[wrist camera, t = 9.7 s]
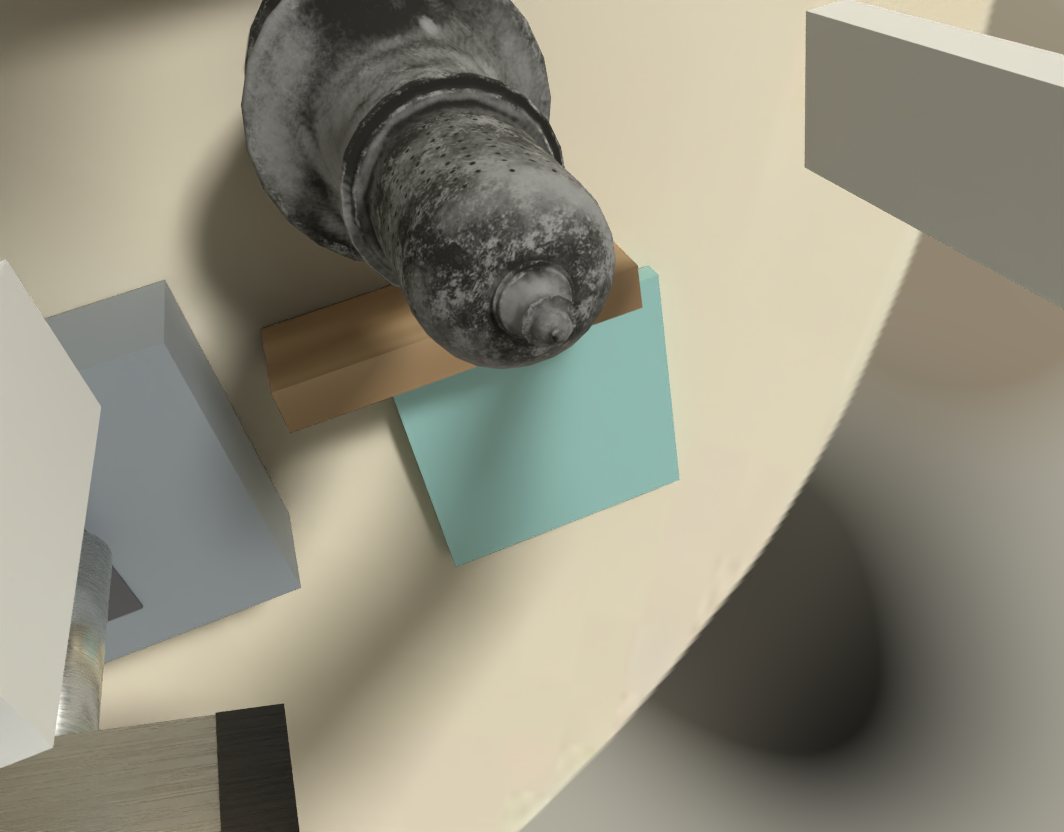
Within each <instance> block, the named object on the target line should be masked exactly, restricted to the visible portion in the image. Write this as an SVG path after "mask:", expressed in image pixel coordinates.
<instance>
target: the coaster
mask: <svg viewBox="0 0 1064 832" xmlns="http://www.w3.org/2000/svg"><path fill="white" fill-rule="evenodd" d="M638 273H639V281H640V289H641V298H642V306H643V308H640V309H637V310H635V311H632V312H629V313H626V314H623V315H620V316H618V317H615V318H612V319H609V320H606V321H604V322H601V323H598V324H595V325H592V326H591V327H590V329H589V330H588V331H587V332H586V333H585V334H584V335H583V336H582V337H581V338H580V339H579V340H578V341H577V342H576V343H575V344H574V345H573V346H571V347H570V348H568V349H566V350H565V351H563V352H561V353H560V354H558V355H557V356H555V357H553V358H550V359H548V360H545V361H542V362H539V363H536V364H533V365H530V366H526V367H518V368H509V369H496V368H487V367H479V366H477V367H475V368H472V369H469V370H466V371H463V372H461V373H458V374H455V375H452V376H449V377H447V378H444V379H441V380H438V381H435V382H433V383H430V384H427V385H424V386H421V387H419V388H416V389H413V390H410V391H407V392H405V393H402V394H399V395H396V396H393V398H394V401H395V404H396V406H397V409H398V412H399V415H400V417H401V420H402V423H403V425H404V428H405V431H406V433H407V436H408V439H409V442H410V444H411V447H412V450H413V452H414V455H415V458H416V460H417V463H418V466H419V469H420V471H421V474H422V477H423V479H424V482H425V485H426V488H427V490H428V493H429V496H430V498H431V501H432V504H433V506H434V509H435V512H436V515H437V517H438V520H439V523H440V525H441V528H442V531H443V534H444V536H445V539H446V542H447V544H448V547H449V550H450V552H451V555H452V558H453V561H454V563H455V566H456V567H457V566H460V565H463V564H465V563H468V562H470V561H473V560H475V559H478V558H480V557H483V556H486V555H488V554H491V553H493V552H496V551H498V550H501V549H503V548H506V547H509V546H511V545H514V544H516V543H519V542H521V541H524V540H526V539H529V538H532V537H534V536H537V535H539V534H542V533H544V532H547V531H549V530H552V529H555V528H557V527H560V526H562V525H565V524H567V523H570V522H572V521H575V520H578V519H580V518H583V517H585V516H588V515H590V514H593V513H595V512H598V511H601V510H603V509H606V508H608V507H611V506H613V505H616V504H618V503H621V502H624V501H626V500H629V499H631V498H634V497H636V496H639V495H641V494H644V493H647V492H649V491H652V490H654V489H657V488H659V487H662V486H664V485H667V484H670V483H672V482H675V481H677V480H679V470H678V461H677V451H676V442H675V432H674V422H673V413H672V403H671V394H670V384H669V374H668V365H667V355H666V346H665V336H664V326H663V317H662V307H661V298H660V288H659V278H658V274H657V273H656V272H655V271H654V270H653V269H652V268H651V267H650V266H647V267H644V268H641V269H638Z"/></svg>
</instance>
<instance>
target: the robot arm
mask: <svg viewBox="0 0 1064 832" xmlns="http://www.w3.org/2000/svg"><path fill="white" fill-rule="evenodd" d="M805 168H807V169H809V170H811V171H812V172H814V173H816V174H818V175H820V176H821V177H823V178H825V179H827V180H829V181H831V182H832V183H834V184H836V185H838V186H840V187H841V188H843V189H845V190H847V191H849V192H851V193H852V194H854V195H856V196H858V197H860V198H861V199H863V200H865V201H867V202H869V203H871V204H872V205H874V206H876V207H878V208H880V209H882V210H883V211H885V212H887V213H889V214H891V215H892V216H894V217H896V218H898V219H900V220H902V221H903V222H905V223H907V224H909V225H911V226H912V227H914V228H916V229H918V230H920V231H922V232H923V233H925V234H927V235H929V236H931V237H932V238H934V239H936V240H938V241H940V242H942V243H943V244H945V245H947V246H949V247H951V248H953V249H955V250H956V251H958V252H960V253H962V254H963V255H965V256H967V257H969V258H971V259H973V260H974V261H976V262H978V263H980V264H982V265H984V266H985V267H987V268H989V269H991V270H993V271H994V272H996V273H998V274H1000V275H1002V276H1003V277H1006V278H1007V279H1009V280H1011V281H1013V282H1015V283H1017V284H1018V285H1020V286H1022V287H1024V288H1025V289H1027V290H1029V291H1031V292H1033V293H1034V294H1036V295H1038V296H1040V297H1042V298H1044V299H1045V300H1047V301H1049V302H1051V303H1053V304H1055V305H1057V306H1058V307H1060V308H1062V309H1064V55H1062V54H1058V53H1054V52H1050V51H1047V50H1043V49H1039V48H1035V47H1031V46H1027V45H1024V44H1020V43H1016V42H1012V41H1008V40H1004V39H1001V38H997V37H993V36H989V35H985V34H981V33H978V32H974V31H970V30H966V29H962V28H958V27H955V26H951V25H947V24H943V23H939V22H935V21H931V20H928V19H924V18H920V17H916V16H912V15H908V14H905V13H901V12H897V11H893V10H889V9H885V8H881V7H878V6H874V5H870V4H866V3H862V2H858V1H855V0H839V1H836V2H833V3H830V4H826V5H823V6H820V7H817V8H813V9H810V10H807V11H806V74H805ZM100 412H101V405H100V404H99V402H98V401H97V399H96V398H95V396H94V395H93V393H92V392H91V390H90V388H89V387H88V385H87V384H86V382H85V381H84V379H83V378H82V376H81V374H80V373H79V371H78V370H77V368H76V367H75V365H74V364H73V362H72V361H71V359H70V357H69V356H68V354H67V353H66V351H65V350H64V348H63V347H62V345H61V343H60V342H59V340H58V339H57V337H56V336H55V334H54V333H53V331H52V330H51V328H50V326H49V325H48V323H47V322H46V320H45V319H44V317H43V316H42V314H41V312H40V311H39V309H38V308H37V306H36V305H35V303H34V302H33V300H32V299H31V297H30V295H29V294H28V292H27V291H26V289H25V288H24V286H23V285H22V283H21V281H20V280H19V278H18V277H17V275H16V274H15V272H14V271H13V269H12V268H11V266H10V264H9V263H8V261H7V260H6V259H5V260H2V261H0V768H3V767H5V766H8V765H10V764H13V763H15V762H18V761H20V760H23V759H26V758H28V757H31V756H33V755H36V754H38V753H41V752H43V751H46V750H48V749H51V748H53V744H54V737H55V730H56V723H57V716H58V709H59V702H60V695H61V688H62V681H63V674H64V667H65V660H66V653H67V646H68V638H69V631H70V624H71V617H72V610H73V603H74V596H75V589H76V582H77V575H78V568H79V561H80V554H81V547H82V540H83V532H84V525H85V518H86V511H87V504H88V497H89V490H90V483H91V476H92V469H93V462H94V455H95V448H96V441H97V433H98V426H99V419H100Z"/></svg>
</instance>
